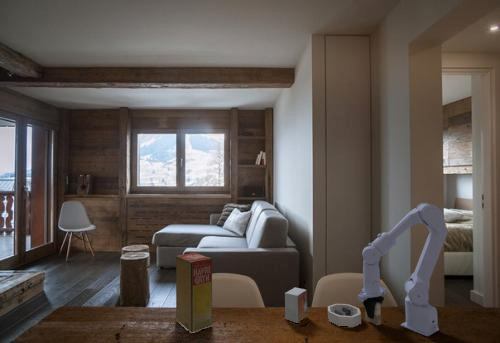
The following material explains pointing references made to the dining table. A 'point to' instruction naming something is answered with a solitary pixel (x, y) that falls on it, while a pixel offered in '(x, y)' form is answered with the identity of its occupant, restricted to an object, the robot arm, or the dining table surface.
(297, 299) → the small box
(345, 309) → the clip
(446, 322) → the dining table surface
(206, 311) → the food packaging
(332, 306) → the bowl
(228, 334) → the dining table surface
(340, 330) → the dining table surface
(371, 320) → the wood grain plank
